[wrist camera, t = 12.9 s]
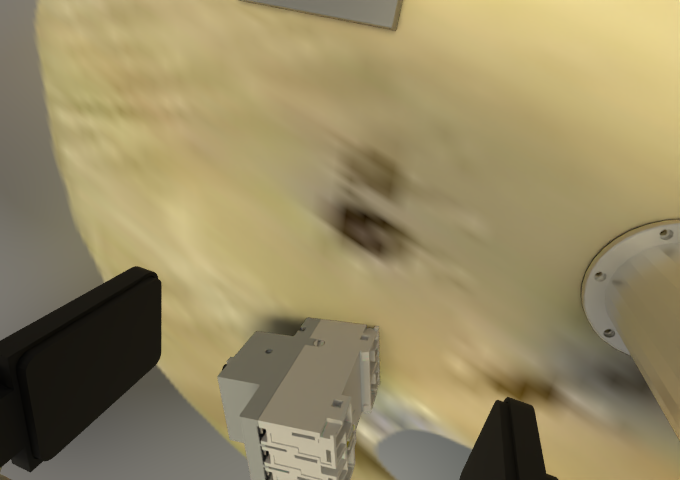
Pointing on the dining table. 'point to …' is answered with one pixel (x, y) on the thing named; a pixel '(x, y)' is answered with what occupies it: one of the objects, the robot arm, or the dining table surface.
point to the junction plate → (345, 10)
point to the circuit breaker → (301, 398)
